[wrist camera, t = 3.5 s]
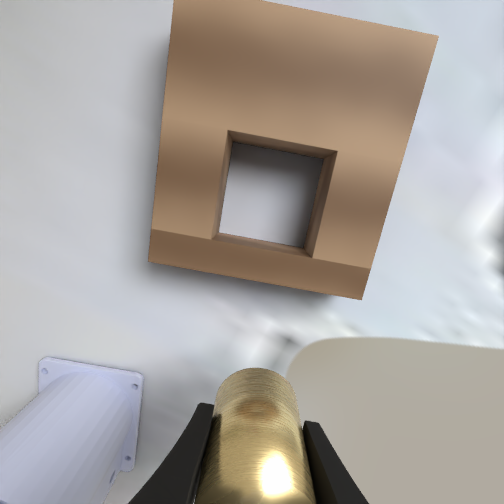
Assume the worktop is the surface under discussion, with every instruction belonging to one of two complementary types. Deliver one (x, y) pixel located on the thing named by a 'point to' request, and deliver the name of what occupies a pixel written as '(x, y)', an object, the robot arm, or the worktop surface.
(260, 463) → the gold rounded cylinder
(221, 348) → the worktop surface
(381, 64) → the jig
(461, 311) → the worktop surface
